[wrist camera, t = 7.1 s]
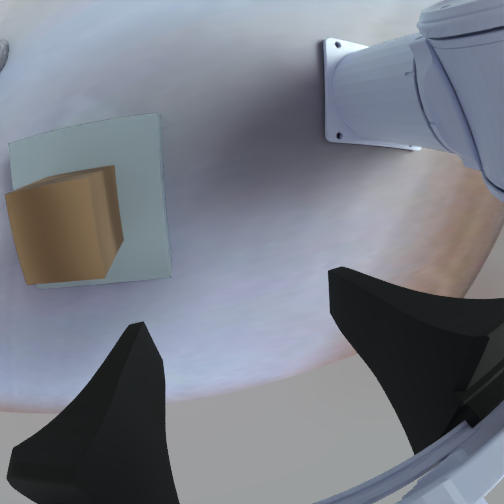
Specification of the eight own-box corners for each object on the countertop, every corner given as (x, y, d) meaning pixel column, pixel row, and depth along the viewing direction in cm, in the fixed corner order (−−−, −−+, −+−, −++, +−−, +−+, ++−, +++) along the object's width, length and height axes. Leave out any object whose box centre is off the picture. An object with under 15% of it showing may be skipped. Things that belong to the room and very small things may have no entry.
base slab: (161, 116, 17) (157, 112, 14) (172, 258, 21) (171, 277, 18) (28, 140, 15) (8, 143, 12) (51, 270, 19) (37, 289, 16)
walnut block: (114, 164, 15) (87, 177, 10) (123, 239, 16) (104, 278, 12) (47, 176, 14) (4, 194, 9) (59, 247, 16) (26, 284, 11)
